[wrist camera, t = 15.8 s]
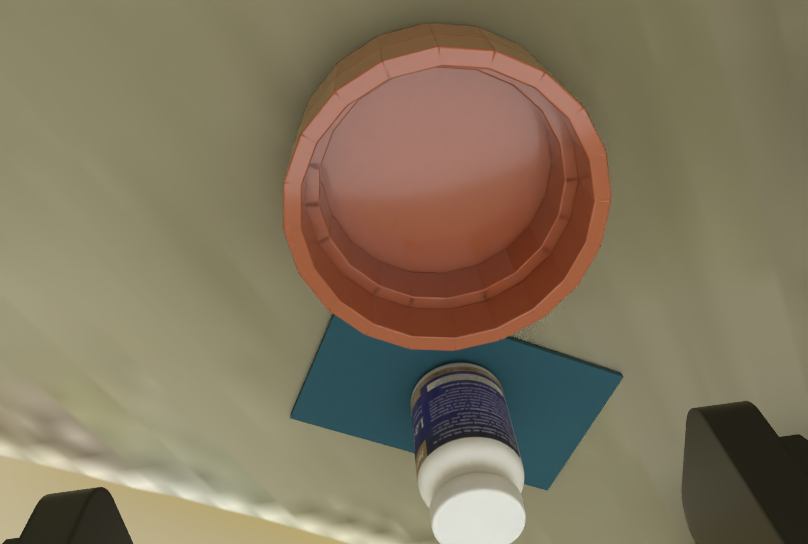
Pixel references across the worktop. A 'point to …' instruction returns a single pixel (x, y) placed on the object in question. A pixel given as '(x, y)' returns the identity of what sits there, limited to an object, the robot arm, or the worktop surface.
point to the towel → (403, 368)
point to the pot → (444, 189)
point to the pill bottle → (467, 456)
